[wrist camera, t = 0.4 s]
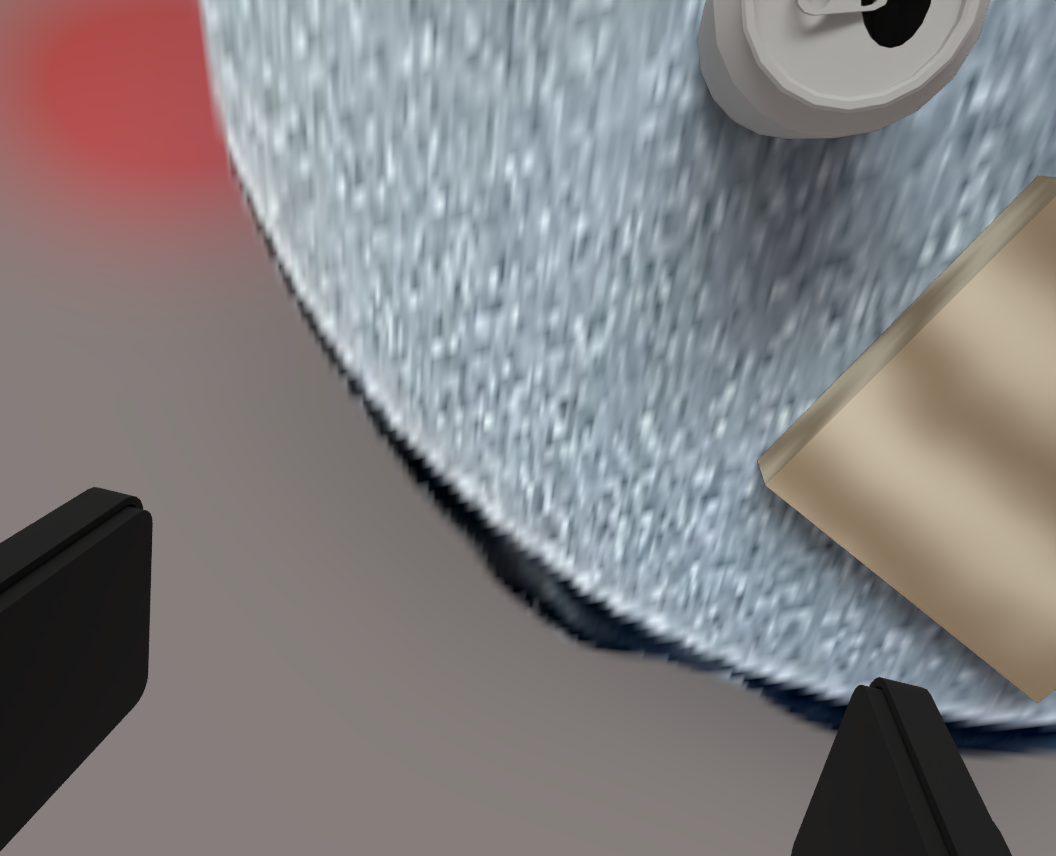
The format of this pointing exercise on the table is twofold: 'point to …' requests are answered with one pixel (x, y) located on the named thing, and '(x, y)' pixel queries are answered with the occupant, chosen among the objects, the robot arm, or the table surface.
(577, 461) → the table surface
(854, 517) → the plinth
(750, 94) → the can
